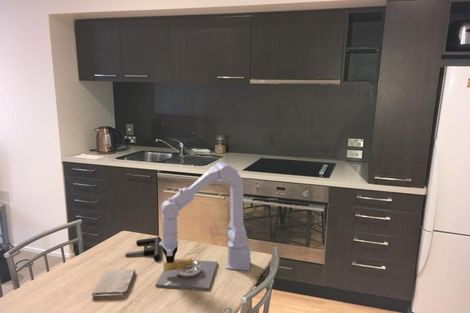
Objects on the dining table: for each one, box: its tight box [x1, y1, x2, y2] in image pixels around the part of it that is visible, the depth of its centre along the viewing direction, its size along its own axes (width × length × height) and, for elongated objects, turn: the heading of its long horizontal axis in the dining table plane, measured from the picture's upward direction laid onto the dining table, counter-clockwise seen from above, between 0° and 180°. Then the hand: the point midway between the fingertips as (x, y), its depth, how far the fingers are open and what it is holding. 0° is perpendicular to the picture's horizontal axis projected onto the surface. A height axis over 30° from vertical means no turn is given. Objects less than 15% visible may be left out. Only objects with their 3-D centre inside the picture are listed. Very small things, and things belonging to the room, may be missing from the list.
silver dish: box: [162, 258, 201, 278], centre depth 138 cm, size 14×10×5 cm
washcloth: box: [91, 268, 136, 300], centre depth 131 cm, size 12×18×3 cm, turn 5°
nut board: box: [155, 258, 218, 291], centre depth 139 cm, size 20×20×1 cm
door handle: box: [124, 236, 162, 262], centre depth 158 cm, size 3×20×16 cm
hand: (170, 264), depth 137 cm, fingers closed, pressing on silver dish
